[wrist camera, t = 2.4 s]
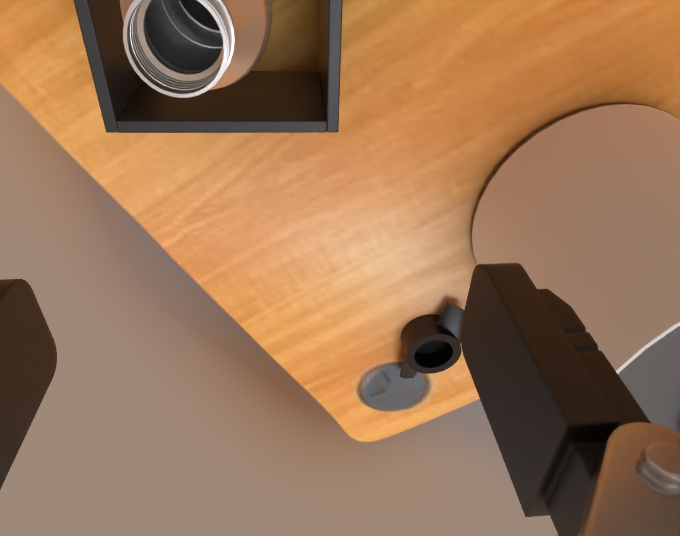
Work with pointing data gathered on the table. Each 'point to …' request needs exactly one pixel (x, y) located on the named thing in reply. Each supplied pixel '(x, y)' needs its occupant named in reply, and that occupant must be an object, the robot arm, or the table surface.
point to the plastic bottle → (194, 42)
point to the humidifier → (600, 236)
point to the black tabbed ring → (432, 342)
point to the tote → (218, 104)
